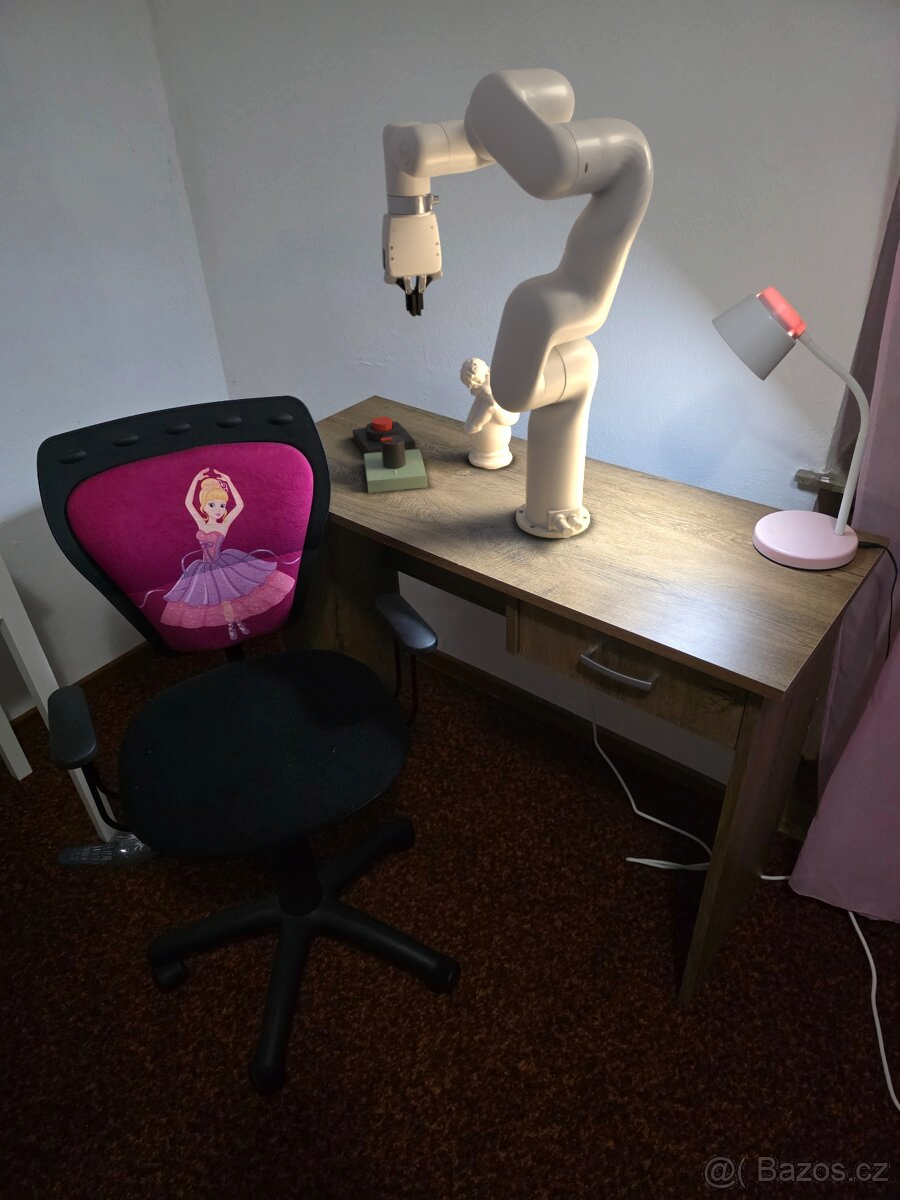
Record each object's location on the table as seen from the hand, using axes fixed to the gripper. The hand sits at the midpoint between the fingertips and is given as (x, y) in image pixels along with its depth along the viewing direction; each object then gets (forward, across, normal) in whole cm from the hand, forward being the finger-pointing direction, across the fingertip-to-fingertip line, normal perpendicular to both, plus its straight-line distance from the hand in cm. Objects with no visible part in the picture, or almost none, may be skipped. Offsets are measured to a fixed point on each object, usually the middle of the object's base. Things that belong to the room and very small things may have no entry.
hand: (415, 314), depth 148 cm
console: (+27, +8, +10) cm, 30 cm away
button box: (+27, +7, -5) cm, 28 cm away
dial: (+25, +8, +10) cm, 28 cm away
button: (+24, +7, -5) cm, 25 cm away
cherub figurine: (+27, -13, +8) cm, 31 cm away
